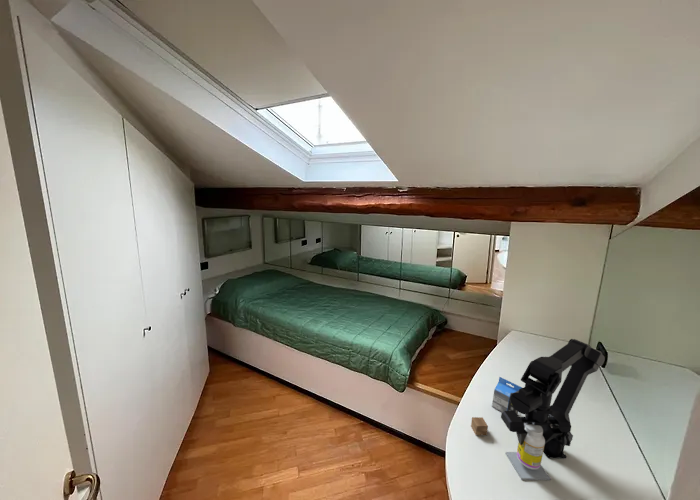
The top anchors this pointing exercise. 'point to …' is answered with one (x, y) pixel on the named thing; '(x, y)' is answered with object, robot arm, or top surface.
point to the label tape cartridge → (504, 395)
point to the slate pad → (527, 469)
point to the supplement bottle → (532, 447)
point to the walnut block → (479, 426)
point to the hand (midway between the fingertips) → (531, 443)
